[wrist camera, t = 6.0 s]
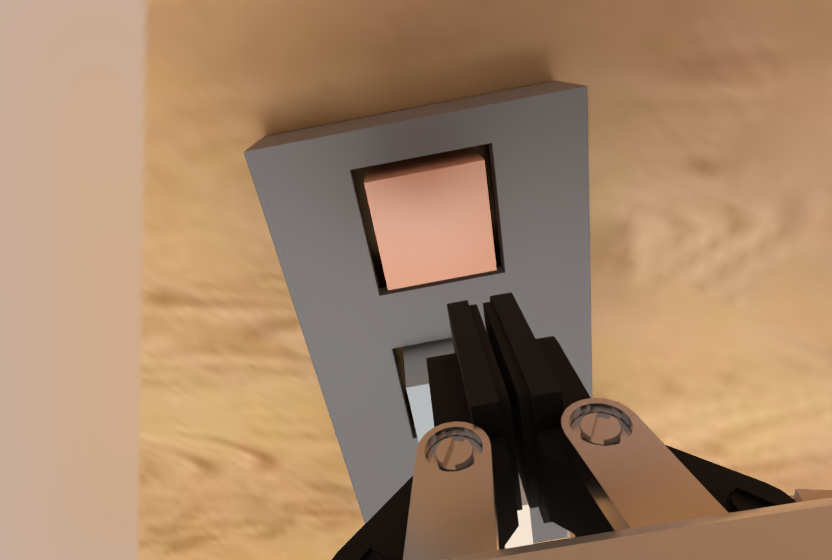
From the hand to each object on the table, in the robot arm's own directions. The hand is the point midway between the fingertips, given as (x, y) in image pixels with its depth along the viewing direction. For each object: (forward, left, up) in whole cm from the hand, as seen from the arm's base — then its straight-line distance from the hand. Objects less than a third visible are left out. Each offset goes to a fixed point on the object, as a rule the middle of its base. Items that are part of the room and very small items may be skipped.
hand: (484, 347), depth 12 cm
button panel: (0, +9, -14) cm, 16 cm away
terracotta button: (0, 0, -14) cm, 14 cm away
